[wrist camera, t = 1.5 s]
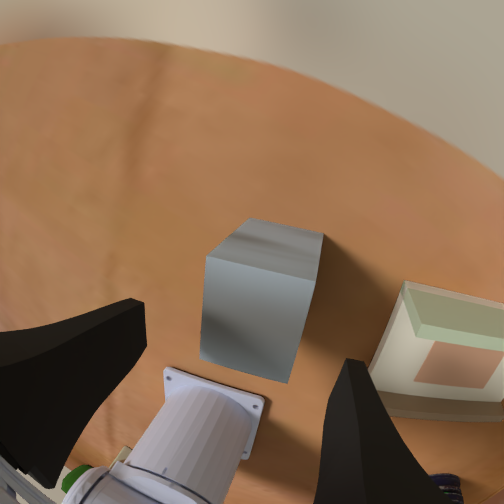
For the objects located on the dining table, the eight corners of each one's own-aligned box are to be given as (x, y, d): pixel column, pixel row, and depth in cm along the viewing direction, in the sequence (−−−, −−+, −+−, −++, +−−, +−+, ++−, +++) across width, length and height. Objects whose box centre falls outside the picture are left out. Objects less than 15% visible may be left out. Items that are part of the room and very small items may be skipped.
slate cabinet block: (304, 314, 18) (287, 383, 12) (238, 297, 19) (199, 358, 13) (323, 233, 16) (315, 281, 10) (250, 217, 17) (206, 255, 11)
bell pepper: (71, 454, 41) (44, 486, 32) (95, 463, 38) (66, 501, 29) (96, 480, 43) (73, 511, 34) (122, 489, 40) (98, 525, 31)
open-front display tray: (492, 399, 16) (507, 441, 12) (360, 384, 18) (359, 436, 14) (543, 313, 13) (573, 349, 9) (403, 279, 15) (421, 323, 11)
